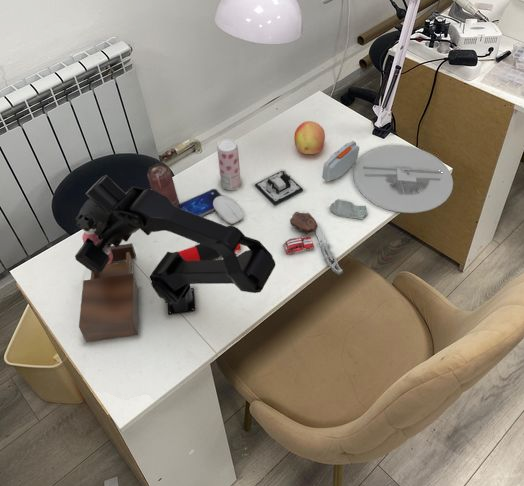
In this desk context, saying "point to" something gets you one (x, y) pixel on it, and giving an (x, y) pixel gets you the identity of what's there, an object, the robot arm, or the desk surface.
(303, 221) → the stone
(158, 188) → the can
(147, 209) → the robot arm
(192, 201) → the smartphone
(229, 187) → the beverage can
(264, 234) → the desk surface
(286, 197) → the light switch
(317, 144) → the apple
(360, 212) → the stone tool
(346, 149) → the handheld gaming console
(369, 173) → the plate
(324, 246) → the knife
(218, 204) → the computer mouse
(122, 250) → the drawer
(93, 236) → the lotion bottle
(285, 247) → the toy car
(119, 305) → the cabinet
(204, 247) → the dynamite stick
